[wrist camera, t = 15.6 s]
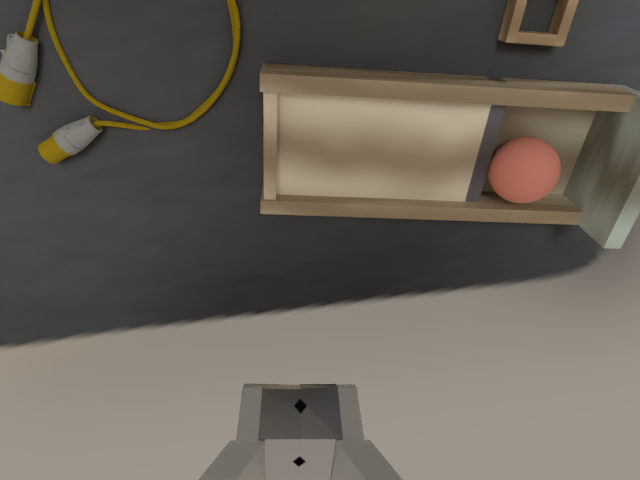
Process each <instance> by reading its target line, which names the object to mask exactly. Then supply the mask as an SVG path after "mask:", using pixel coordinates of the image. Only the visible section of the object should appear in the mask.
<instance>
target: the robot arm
mask: <svg viewBox="0 0 640 480" xmlns="http://www.w3.org/2000/svg"><path fill="white" fill-rule="evenodd" d="M199 480H402V479H401V477H400V476H399V475H398V474H397V473H396V471H395V470H394V469H393V468H392V466H391V465H390V464H389V463H388V462H387V460H385V458H384V457H383V456H382V454H381V453H380V452H379V451H378V449H377V448H376V447H375V446H374V445H373V444H372V442H371V441H370V440H364V435H363V429H362V421H361V414H360V408H359V401H358V395H357V388H356V386H355V385H336V384H304V385H303V384H300V385H278V384H244V386H243V389H242V397H241V406H240V413H239V421H238V429H237V438H236V441H230V442H229V443H228V444H227V446H226V447H225V448H224V449H223V450H222V452H221V453H220V454H219V455H218V457H217V458H216V459H215V460H214V462H213V463H212V464H211V465H210V466H209V468H208V469H207V470H206V471H205V473H204V474H203V475H202V476H201V478H200V479H199Z"/></svg>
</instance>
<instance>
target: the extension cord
mask: <svg viewBox="0 0 640 480" xmlns="http://www.w3.org/2000/svg"><path fill="white" fill-rule="evenodd" d="M40 3H41V0H33V4H32V7H31V11H30V15H29V18H28V22H27V26H26V29H25V32H22V31H16V32H15V34H8V36H7V48H6V49H5V50H3V49H0V51H1V53H2V55H3V56H2V59H1V63H0V100H1V101H3V102H5V103H8V104H11V105H15V106H30V103H31V99H32V96H33V92H34V89H35V86H36V82H35V81H34V80H35V77H36V73H37V63H38V43H39V41H38V40H37V38H35V37H34V36H32V31H33V28H34V24H35V21H36V17H37V14H38V10H39V6H40ZM227 4H228V8H229V12H230V17H231V23H232V31H233V51H232V55H231V59H230V62H229V66H228V68H227V71H226V73H225V75H224V77H223V80H222V81H221V83H220V85H219V86H218V88H217V89H216V90H215V91H214V93H213V94H212V95H211V96H210V97H209V98H208V99H207V100H206V101H205V102H204V103H203V104H202V105H201V106H200V107H198V108H197V109H196V110H195V111H194V112H193V113H192V114H191V115H190V116H189V117H187V118H185V119H183V120H180V121H173V122H162V123H157V122H156V123H153V122H150V121H147V120H144V119H141V118H138V117H135V116H132V115H129V114H126V113H124V112H121V111H118V110H115V109H113V108H110V107H108V106H106V105H104V104H102V103H101V102H99V101H97V100H96V99H95V98H93V97H92V96H91V95H90V94H89V93H88V92H87V91H86V90H85V88H84V87H83V85H82V84H81V82H80V81H79V79H78V78H77V76H76V74H75V72H74V70H73V68H72V67H71V65H70V63H69V61H68V59H67V57H66V55H65V53H64V51H63V49H62V47H61V45H60V42H59V39H58V37H57V34H56V31H55V28H54V25H53V21H52V17H51V13H50V7H49V0H42V5H43V11H44V15H45V19H46V23H47V27H48V30H49V32H50V35H51V38H52V40H53V43H54V46H55V48H56V50H57V52H58V54H59V56H60V58H61V60H62V62H63V64H64V66H65V68H66V69H67V71H68V73H69V75H70V77H71V79H72V80H73V82H74V83H75V85H76V86H77V88H78V89H79V91H80V92H81V93H82V94H83V95H84V97H85V98H86V99H88V100H89V101H90V102H91V103H92V104H94V105H96V106H97V107H99V108H101V109H103V110H105V111H107V112H109V113H111V114H114V115H117V116H119V117H122V118H125V119H127V120H130V121H133V122H136V123H140V124H143V125H146V126H149V127H152V128H157V129H163V130H168V129H176V128H179V127H182V126H185V125H187V124H189V123H191V122H193V121H195V120H196V119H197V118H199V117H200V116H201V115H202V114H204V113H205V112H206V111H207V110H208V109H209V108H210V107H211V106H212V105H213V103H214V102H215V101H216V99H217V98H218V97H219V95H220V94H221V93H222V91H223V89H224V88H225V87H226V85H227V83H228V82H229V80H230V78H231V76H232V74H233V72H234V69H235V65H236V62H237V57H238V50H239V44H240V17H239V10H238V7H237V4H236V1H235V0H227ZM10 35H11V36H12V37H11V38H10V37H9V36H10ZM102 126H112V127H120V128H127V129H135V130H150V129H149V128H146V127H143V126H139V125H135V124H129V123H122V122H114V121H99V120H98V119H96V118H95V117H93V116H91V115H89V116H87V117H86V118H83V119H80V120H77V121H74V122H72V123H70V124H66V125H64V126H62V127H61V128H59V129H58V130H56V131H55V132H53V133H52V136H51V137H50V138H48V139H47V140H45V141H44V142H42V143H41V144H39V146H38V150H39V153H40V155H41V156H42V157H43V158H44V159H45V160H46V161H48V162H49V163H52V164H57V163H58V162H60V161H62V160H63V159H65V158H66V157H68V156H74V155H75V154H77V153H78V152H80V151H82V150H83V149H85V147H86V146H87V145H88V144H90V142H92V140H93V139H94V138H95V137H96V136H97V135H98V134H99V133H100V132H102V130H103V129H102Z"/></svg>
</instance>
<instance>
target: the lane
mask: <svg viewBox="0 0 640 480" xmlns="http://www.w3.org/2000/svg"><path fill="white" fill-rule="evenodd" d="M260 92H263V106H264V181H263V186H262V193H261V200H260V206H261V214H278V215H307V216H336V217H365V218H394V219H423V220H452V221H481V222H511V223H540V224H569V225H579V226H580V227H581V228H582V229H583V230H584V231H585V232H586V233H587V234H588V235H590V236H591V237H592V238H593V239H594V240H595V241H596V242H597V243H598V244H599V245H600V246H601V247H602V248H614V249H616V248H617V249H620V248H621V247H622V245H623V243H624V241H625V239H626V237H627V235H628V233H629V232H630V230H631V228H632V226H633V224H634V222H635V220H636V218H637V216H638V214H639V212H640V91H637V90H635V89H632V88H629V87H627V86H624V85H615V84H599V83H583V82H566V81H550V80H533V79H517V78H501V77H484V76H468V75H452V74H435V73H419V72H402V71H386V70H370V69H353V68H337V67H321V66H304V65H288V64H271V63H263V64H262V67H261V71H260ZM518 137H536V138H539V139H542V140H544V141H546V142H547V143H549V144H550V145H551V146H552V147H553V148H554V149H555V151H556V152H557V154H558V156H559V159H560V163H561V172H560V177H559V180H558V182H557V184H556V185H555V187H554V188H553V190H552V191H551V192H550V193H548V194H547V195H546V196H545V197H543V198H541V199H539V200H537V201H534V202H530V203H514V202H510V201H508V200H506V199H504V198H502V197H501V196H499V195H498V194H497V193H496V192H495V191H494V189H493V188H492V186H491V184H490V181H489V177H488V168H489V165H490V161H491V158H492V156H493V154H494V153H495V152H496V150H497V149H498V148H499V147H500V146H501V145H503V144H504V143H506V142H508V141H509V140H512V139H514V138H518Z"/></svg>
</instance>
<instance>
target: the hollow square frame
mask: <svg viewBox="0 0 640 480" xmlns="http://www.w3.org/2000/svg"><path fill="white" fill-rule="evenodd" d="M578 2H579V0H557V4H556V7H555V10H554V13H553V16H552V19H551V23H550V26H549V29H548V32H538V31H524V30H519V28H520V25H521V21H522V18H523V14H524V11H525V7H526V4H527V0H508V2H507V6H506V10H505V13H504V17H503V21H502V25H501V29H500V33H499V36H498V40H500V41H503V42H505V43H519V44H534V45H549V46H564V43H565V40H566V37H567V34H568V31H569V28H570V25H571V22H572V19H573V17H574V14H575V11H576V8H577V5H578Z"/></svg>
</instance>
